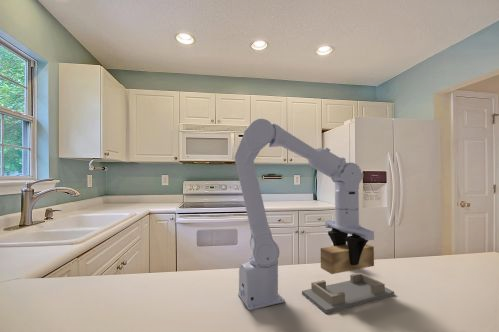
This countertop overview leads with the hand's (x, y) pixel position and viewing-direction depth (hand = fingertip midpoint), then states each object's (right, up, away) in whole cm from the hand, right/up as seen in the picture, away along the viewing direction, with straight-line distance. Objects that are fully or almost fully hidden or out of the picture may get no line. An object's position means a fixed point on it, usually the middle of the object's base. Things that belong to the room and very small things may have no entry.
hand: (347, 261), depth 59 cm
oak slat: (0, -1, 0) cm, 1 cm away
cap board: (0, -8, 0) cm, 8 cm away
